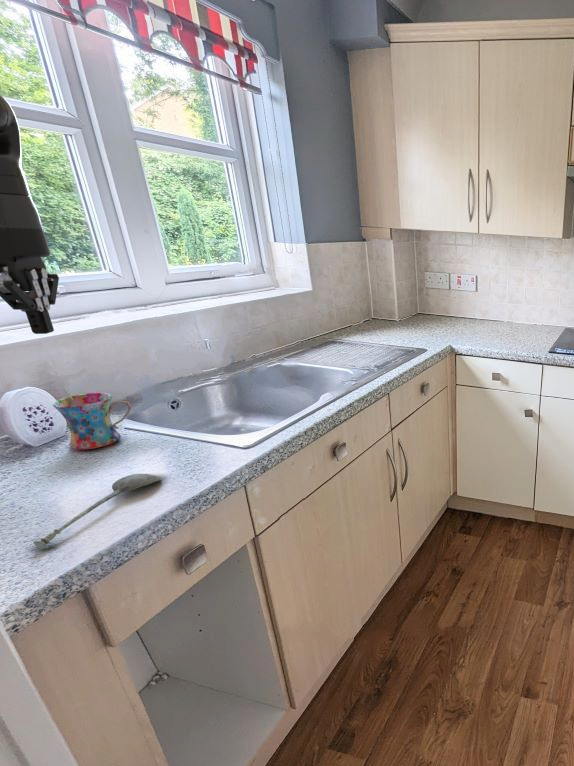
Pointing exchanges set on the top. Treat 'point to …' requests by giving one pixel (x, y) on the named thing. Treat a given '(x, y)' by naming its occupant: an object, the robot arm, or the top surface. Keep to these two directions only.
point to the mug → (90, 419)
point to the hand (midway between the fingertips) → (43, 332)
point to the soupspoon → (118, 487)
